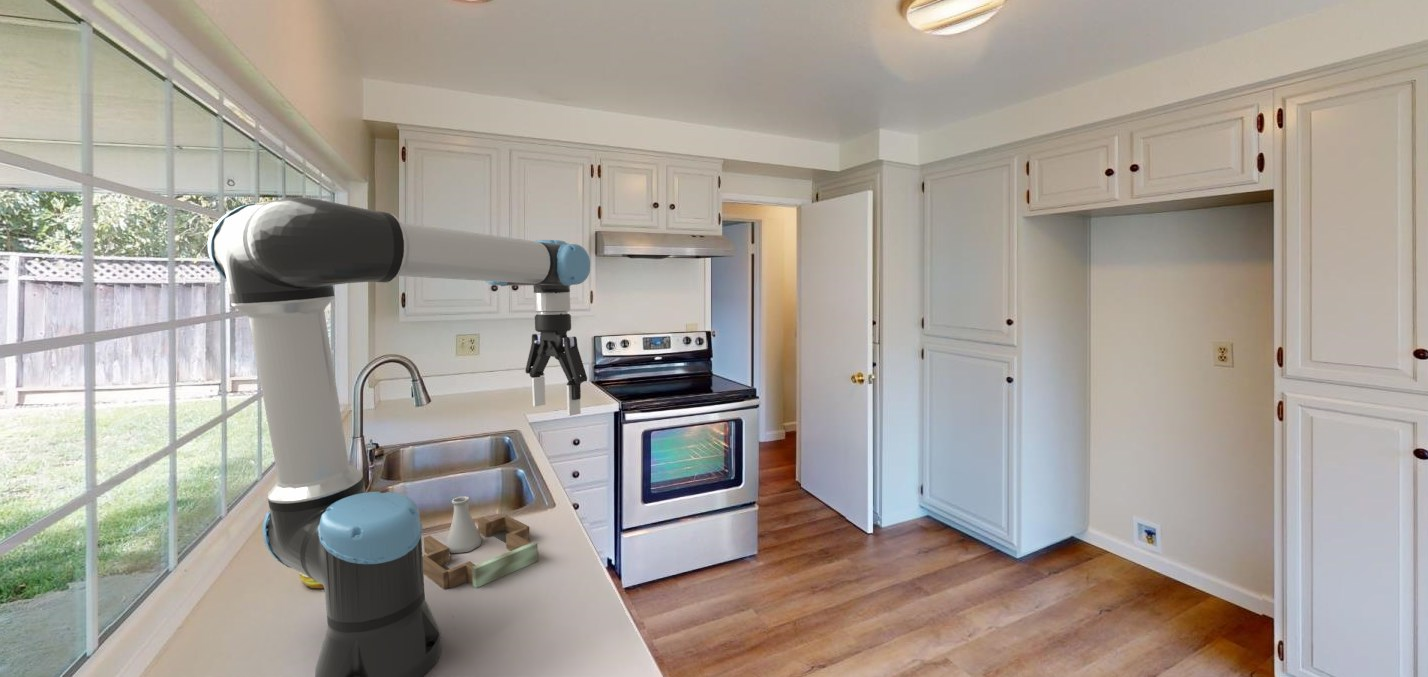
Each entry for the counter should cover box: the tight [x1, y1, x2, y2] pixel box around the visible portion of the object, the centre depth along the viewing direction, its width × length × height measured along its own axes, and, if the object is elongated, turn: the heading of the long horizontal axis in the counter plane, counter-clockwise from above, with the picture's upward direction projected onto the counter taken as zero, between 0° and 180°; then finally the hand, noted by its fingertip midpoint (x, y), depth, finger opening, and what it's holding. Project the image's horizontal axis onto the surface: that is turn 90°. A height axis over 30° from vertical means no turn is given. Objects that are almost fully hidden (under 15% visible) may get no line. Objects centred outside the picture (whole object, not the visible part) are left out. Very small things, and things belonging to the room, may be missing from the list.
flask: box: [444, 495, 483, 554], centre depth 113 cm, size 7×7×10 cm
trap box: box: [422, 514, 539, 590], centre depth 109 cm, size 20×21×4 cm
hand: (556, 410), depth 121 cm, fingers open, 13 cm apart
